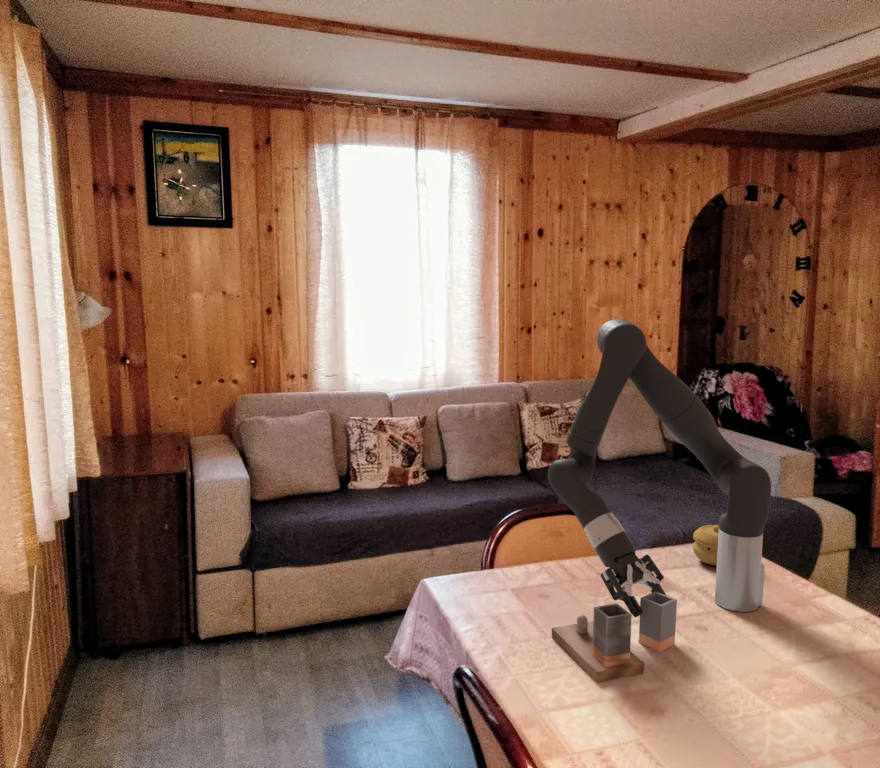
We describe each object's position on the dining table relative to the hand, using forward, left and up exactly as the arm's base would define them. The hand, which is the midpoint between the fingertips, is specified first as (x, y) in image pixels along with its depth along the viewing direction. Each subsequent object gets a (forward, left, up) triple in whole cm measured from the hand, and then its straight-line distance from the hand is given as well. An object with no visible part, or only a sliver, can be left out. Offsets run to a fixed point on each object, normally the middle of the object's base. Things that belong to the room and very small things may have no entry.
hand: (652, 609), depth 148 cm
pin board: (+14, +1, -7) cm, 15 cm away
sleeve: (0, +1, -7) cm, 7 cm away
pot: (-40, -31, -7) cm, 51 cm away
